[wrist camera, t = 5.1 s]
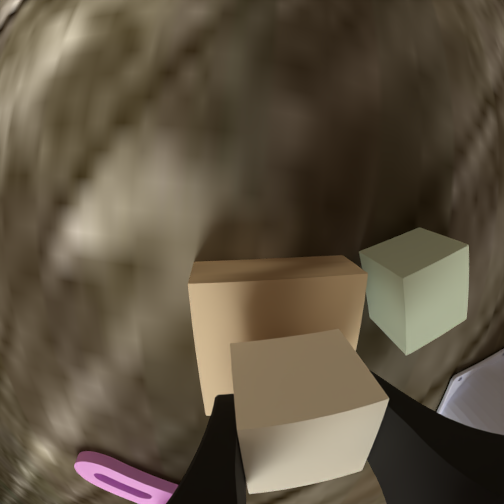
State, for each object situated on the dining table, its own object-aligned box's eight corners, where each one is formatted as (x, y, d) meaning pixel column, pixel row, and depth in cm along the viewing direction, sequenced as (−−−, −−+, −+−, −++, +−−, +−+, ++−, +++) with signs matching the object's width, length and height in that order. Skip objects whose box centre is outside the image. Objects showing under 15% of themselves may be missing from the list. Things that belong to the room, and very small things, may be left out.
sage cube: (418, 226, 14) (468, 244, 10) (423, 290, 15) (466, 318, 11) (358, 251, 13) (402, 278, 10) (369, 316, 15) (406, 355, 11)
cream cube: (338, 328, 10) (389, 398, 6) (329, 402, 11) (361, 470, 7) (229, 343, 10) (237, 430, 6) (239, 417, 11) (248, 493, 7)
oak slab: (339, 253, 14) (368, 273, 11) (326, 366, 16) (344, 399, 13) (194, 259, 13) (188, 283, 10) (206, 377, 15) (206, 415, 12)
